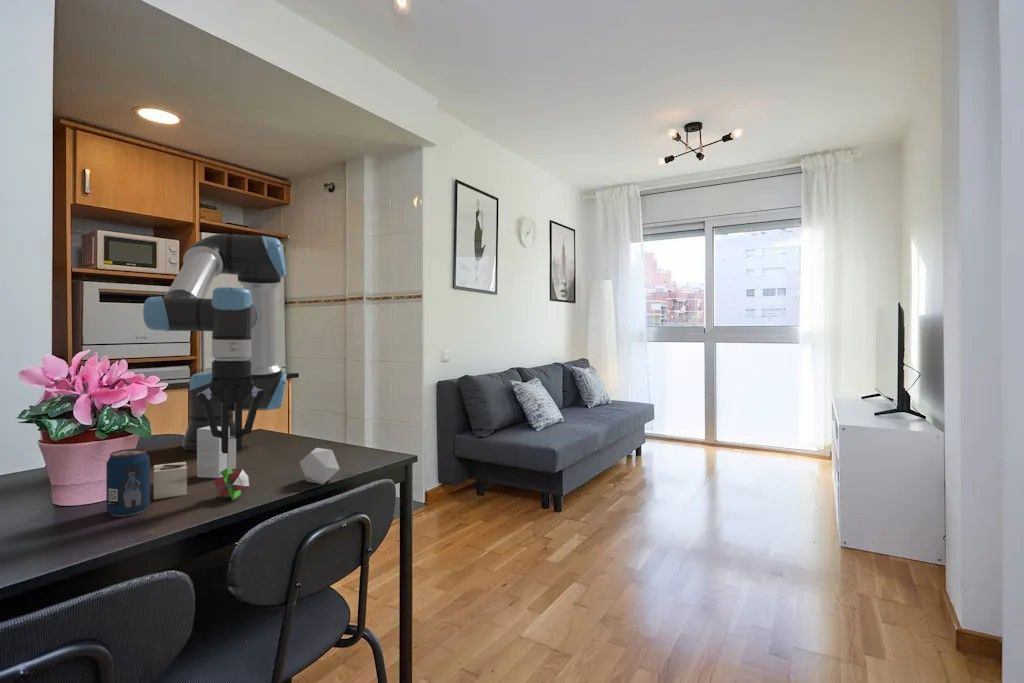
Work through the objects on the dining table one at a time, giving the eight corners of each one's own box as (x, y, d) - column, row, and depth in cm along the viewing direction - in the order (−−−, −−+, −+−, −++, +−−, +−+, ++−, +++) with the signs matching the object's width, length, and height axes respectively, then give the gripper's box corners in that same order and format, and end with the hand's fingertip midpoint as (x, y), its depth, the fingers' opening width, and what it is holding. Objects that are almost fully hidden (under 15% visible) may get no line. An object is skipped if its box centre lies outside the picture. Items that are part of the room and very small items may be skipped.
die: (346, 482, 125) (338, 446, 130) (332, 473, 118) (325, 436, 122) (314, 494, 125) (307, 458, 129) (298, 487, 117) (292, 448, 122)
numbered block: (154, 491, 114) (154, 464, 114) (185, 487, 117) (185, 460, 117) (153, 499, 109) (153, 471, 109) (186, 495, 112) (186, 467, 112)
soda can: (129, 504, 106) (129, 446, 106) (158, 506, 105) (158, 448, 104) (97, 516, 99) (96, 455, 99) (127, 519, 98) (127, 457, 98)
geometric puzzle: (198, 492, 108) (221, 463, 108) (215, 482, 114) (237, 455, 114) (225, 512, 108) (248, 483, 108) (241, 501, 115) (262, 474, 115)
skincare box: (230, 473, 128) (230, 426, 128) (219, 478, 124) (219, 429, 124) (208, 472, 129) (208, 425, 129) (195, 477, 125) (195, 428, 124)
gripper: (197, 360, 104) (197, 476, 104) (267, 359, 111) (267, 467, 111) (195, 358, 110) (195, 467, 110) (262, 357, 117) (261, 459, 118)
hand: (231, 467), depth 111 cm, fingers closed
